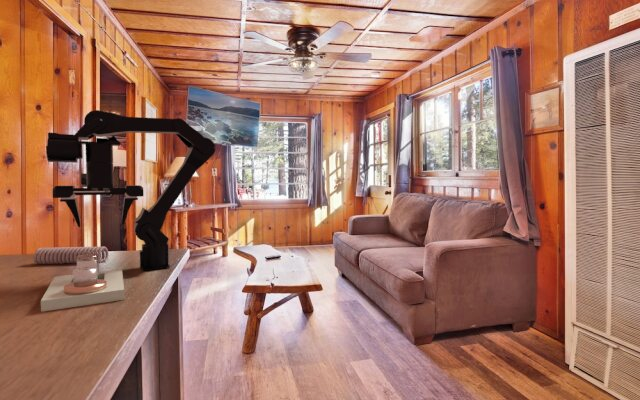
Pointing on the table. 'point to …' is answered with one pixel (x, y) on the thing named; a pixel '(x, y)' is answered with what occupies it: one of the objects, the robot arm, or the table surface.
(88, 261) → the loose cylinder
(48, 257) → the coil
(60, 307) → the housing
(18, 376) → the table surface
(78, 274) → the copper flanged knob
